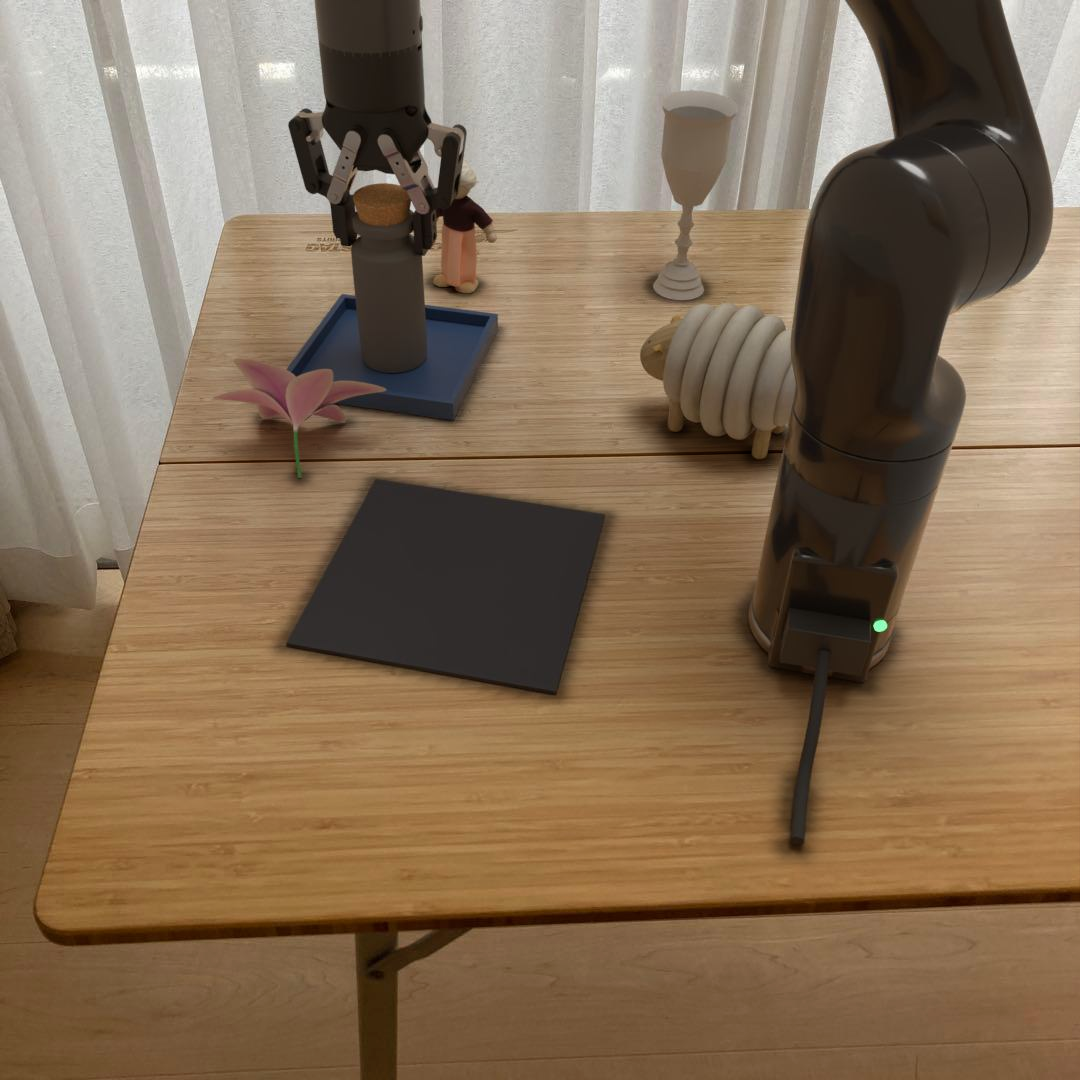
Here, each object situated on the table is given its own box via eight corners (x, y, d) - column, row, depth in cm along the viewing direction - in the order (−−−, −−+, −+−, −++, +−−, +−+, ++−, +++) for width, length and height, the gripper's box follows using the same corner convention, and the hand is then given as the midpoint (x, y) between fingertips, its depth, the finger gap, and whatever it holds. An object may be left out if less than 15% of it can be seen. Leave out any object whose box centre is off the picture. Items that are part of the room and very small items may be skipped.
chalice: (630, 277, 112) (646, 96, 100) (689, 265, 114) (710, 86, 102) (667, 311, 107) (687, 124, 95) (727, 297, 109) (754, 113, 97)
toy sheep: (656, 376, 98) (669, 261, 91) (846, 426, 93) (875, 307, 86) (611, 439, 91) (620, 319, 83) (814, 497, 86) (842, 374, 78)
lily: (410, 459, 90) (394, 339, 88) (323, 486, 80) (303, 351, 78) (291, 464, 95) (274, 351, 93) (195, 490, 85) (173, 364, 83)
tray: (453, 420, 92) (453, 403, 91) (281, 395, 95) (279, 378, 93) (498, 329, 104) (497, 313, 102) (343, 309, 106) (341, 293, 105)
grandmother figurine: (417, 288, 109) (410, 162, 101) (431, 270, 112) (426, 146, 104) (491, 300, 108) (490, 174, 99) (504, 282, 111) (504, 158, 102)
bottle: (432, 341, 101) (424, 181, 91) (421, 376, 96) (411, 212, 87) (369, 337, 101) (354, 177, 91) (354, 371, 97) (337, 207, 87)
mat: (555, 694, 70) (556, 691, 70) (286, 646, 73) (285, 643, 72) (604, 517, 83) (605, 514, 83) (375, 481, 86) (375, 478, 86)
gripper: (256, 39, 79) (287, 257, 90) (451, 57, 77) (458, 278, 88) (296, 9, 85) (320, 218, 96) (478, 25, 83) (481, 237, 94)
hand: (386, 246), depth 92 cm, fingers closed on bottle, 5 cm apart
